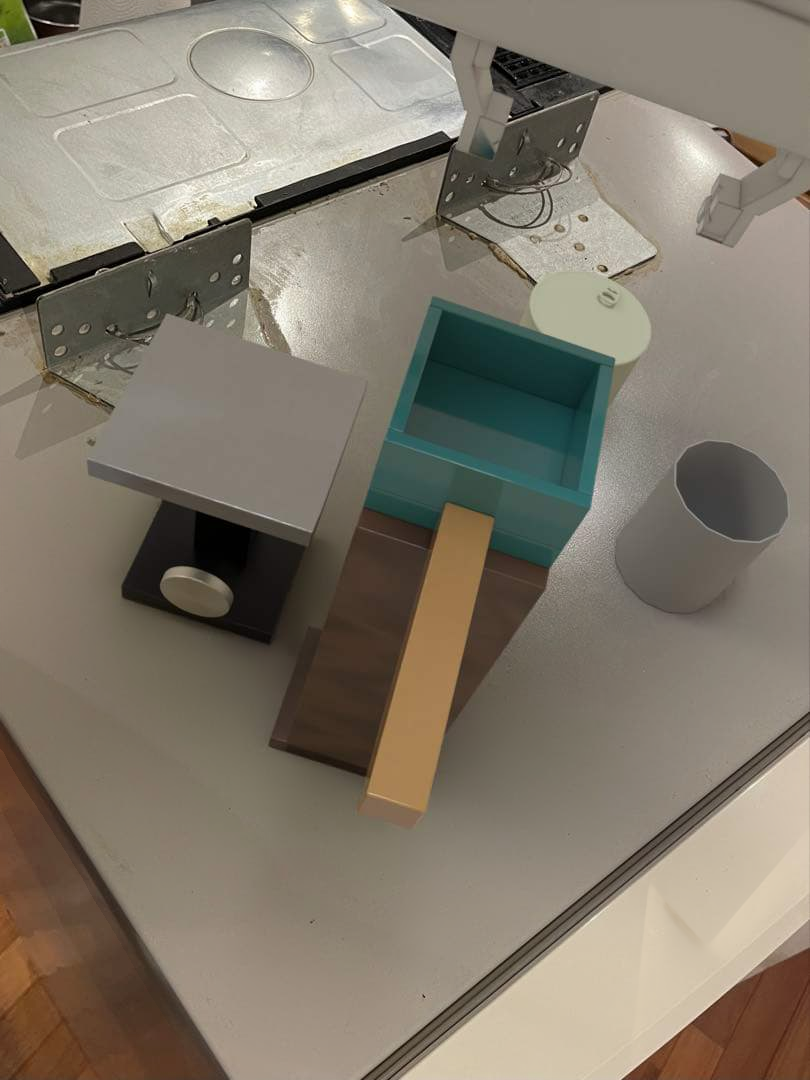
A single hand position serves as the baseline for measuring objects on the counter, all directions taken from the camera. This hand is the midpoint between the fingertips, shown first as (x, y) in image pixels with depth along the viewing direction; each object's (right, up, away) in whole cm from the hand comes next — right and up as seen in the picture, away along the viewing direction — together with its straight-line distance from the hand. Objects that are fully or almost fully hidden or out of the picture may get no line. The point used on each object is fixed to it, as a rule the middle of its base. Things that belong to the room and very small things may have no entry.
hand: (596, 190), depth 37 cm
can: (+4, -3, +43) cm, 43 cm away
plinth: (-10, -24, +26) cm, 37 cm away
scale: (-20, -15, +30) cm, 38 cm away
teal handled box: (-6, -15, +2) cm, 16 cm away
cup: (+13, -15, +38) cm, 43 cm away
